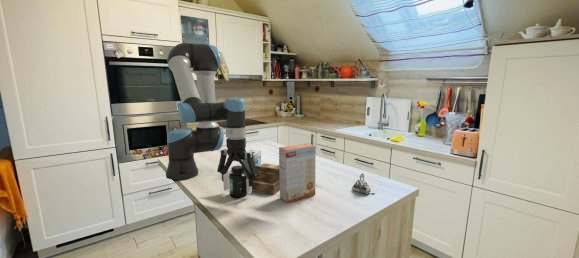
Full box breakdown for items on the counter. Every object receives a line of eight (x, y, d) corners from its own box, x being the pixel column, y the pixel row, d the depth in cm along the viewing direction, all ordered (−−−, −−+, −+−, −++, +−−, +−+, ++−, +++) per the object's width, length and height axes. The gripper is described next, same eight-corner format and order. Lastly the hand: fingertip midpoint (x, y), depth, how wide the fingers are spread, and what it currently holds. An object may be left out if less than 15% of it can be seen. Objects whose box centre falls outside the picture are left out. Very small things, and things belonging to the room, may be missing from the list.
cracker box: (307, 190, 115) (307, 142, 112) (315, 195, 110) (316, 145, 107) (278, 197, 107) (278, 146, 104) (286, 203, 102) (286, 149, 99)
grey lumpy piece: (380, 189, 117) (381, 172, 115) (370, 195, 111) (370, 177, 109) (361, 184, 123) (362, 168, 122) (351, 189, 117) (351, 172, 116)
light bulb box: (255, 175, 134) (254, 154, 133) (242, 175, 136) (241, 154, 134) (261, 169, 145) (261, 150, 143) (249, 168, 146) (249, 149, 144)
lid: (251, 171, 127) (250, 165, 127) (263, 164, 138) (263, 159, 138) (285, 176, 120) (285, 170, 120) (295, 169, 131) (295, 163, 130)
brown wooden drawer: (237, 188, 118) (237, 179, 117) (252, 179, 129) (251, 171, 128) (274, 194, 111) (274, 185, 110) (286, 185, 121) (286, 176, 121)
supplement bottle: (230, 199, 106) (229, 170, 104) (229, 193, 112) (228, 165, 110) (247, 197, 108) (247, 168, 106) (245, 191, 114) (245, 164, 112)
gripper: (206, 137, 107) (209, 190, 110) (256, 141, 98) (257, 199, 101) (218, 134, 114) (220, 184, 117) (266, 138, 105) (267, 192, 108)
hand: (237, 191), depth 109 cm, fingers open, 10 cm apart
